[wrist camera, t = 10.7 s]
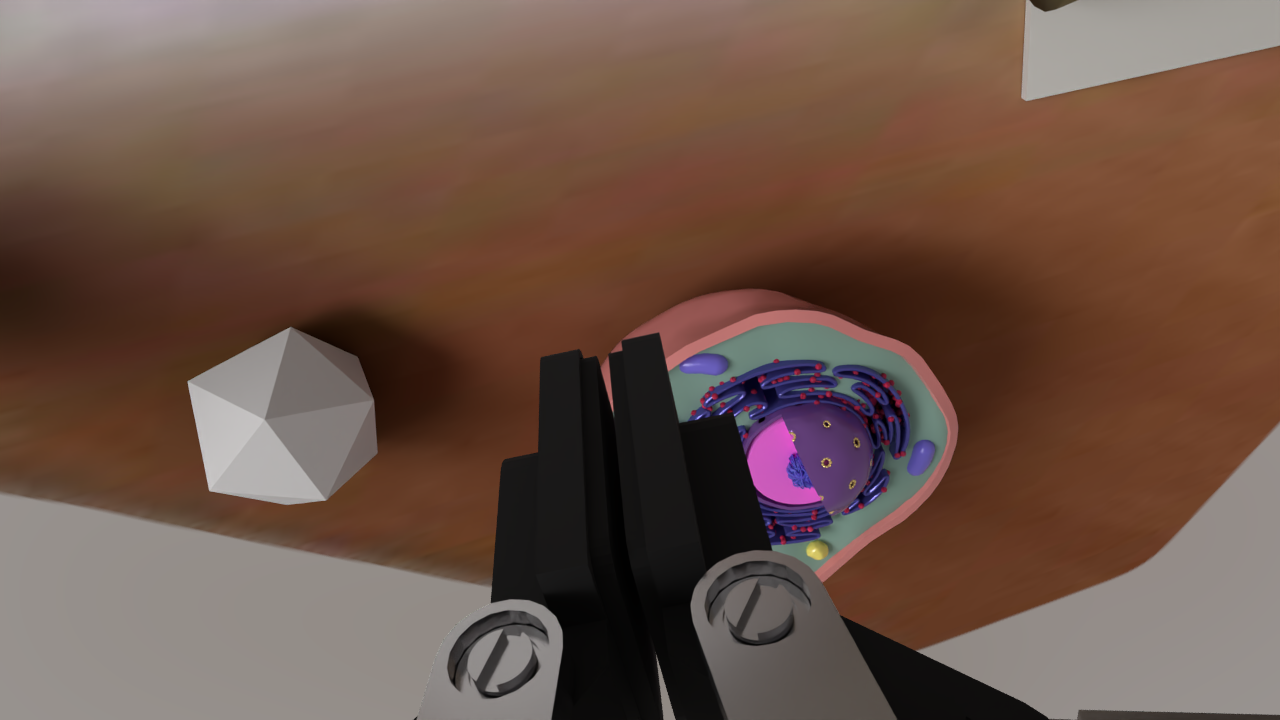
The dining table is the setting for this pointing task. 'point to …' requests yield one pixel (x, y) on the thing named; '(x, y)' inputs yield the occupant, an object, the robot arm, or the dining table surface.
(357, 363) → the die
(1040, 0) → the cork
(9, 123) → the dining table surface
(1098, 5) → the mat
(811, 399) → the cell model
